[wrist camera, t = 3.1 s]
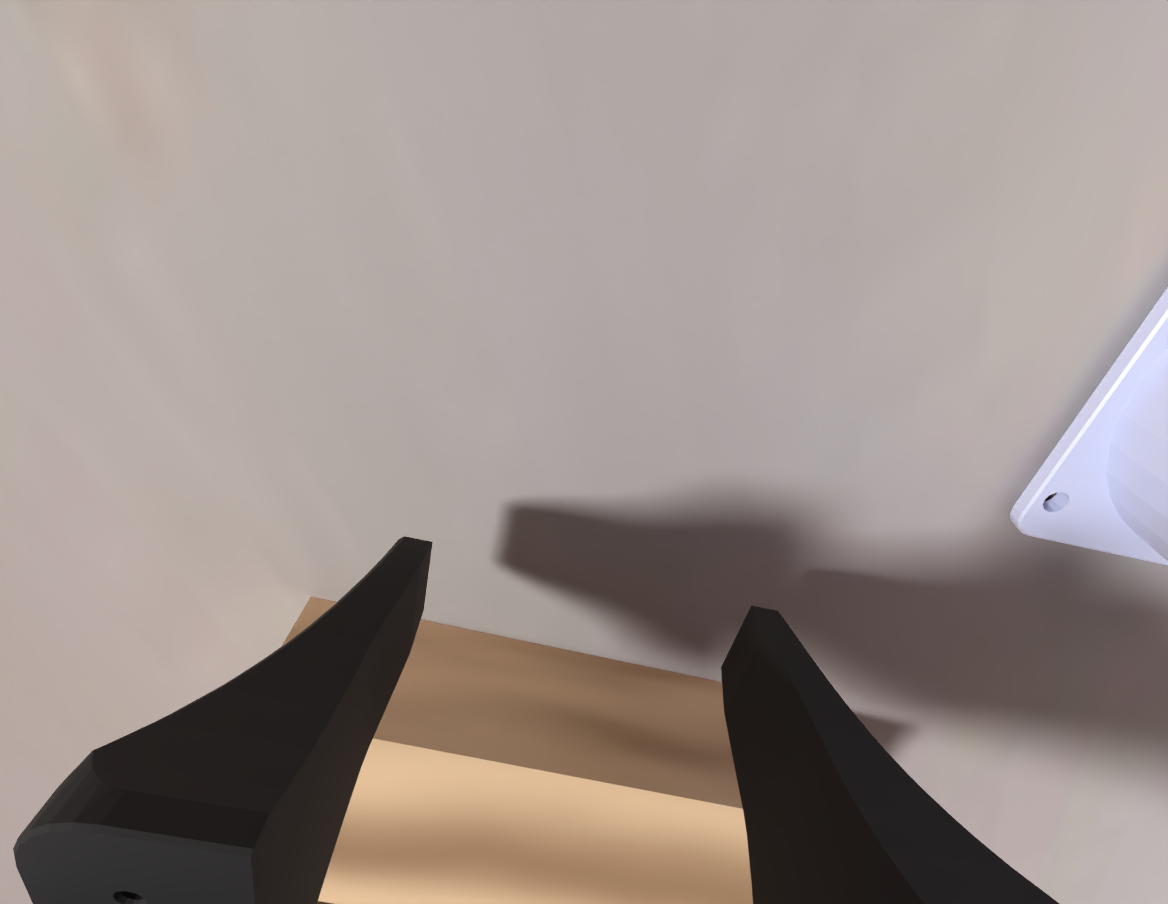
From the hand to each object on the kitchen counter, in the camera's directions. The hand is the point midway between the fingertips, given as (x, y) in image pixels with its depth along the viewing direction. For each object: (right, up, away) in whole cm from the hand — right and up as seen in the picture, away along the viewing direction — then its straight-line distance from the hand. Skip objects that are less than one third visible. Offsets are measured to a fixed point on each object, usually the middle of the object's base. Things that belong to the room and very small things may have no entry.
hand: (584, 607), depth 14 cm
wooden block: (-2, -5, +6) cm, 8 cm away
